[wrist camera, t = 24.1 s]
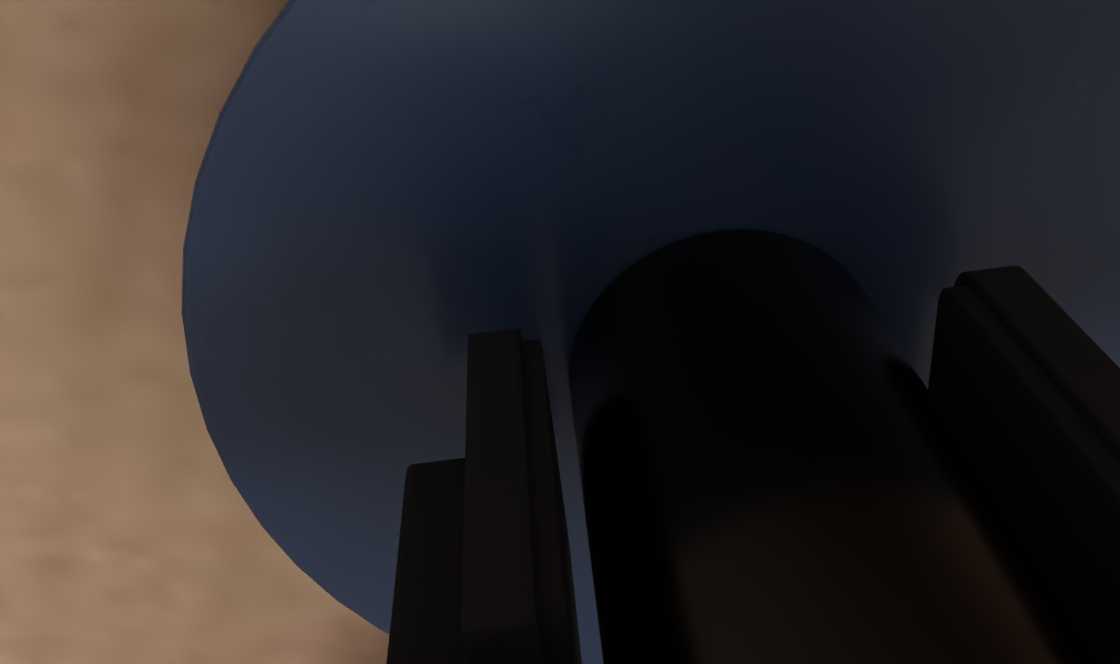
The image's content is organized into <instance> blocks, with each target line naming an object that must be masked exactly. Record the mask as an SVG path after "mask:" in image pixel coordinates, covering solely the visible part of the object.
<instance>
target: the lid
mask: <svg viewBox="0 0 1120 664" xmlns="http://www.w3.org/2000/svg"><path fill="white" fill-rule="evenodd" d="M1006 266H1020V267H1021V268H1022V269H1024V270H1025V271H1026V272H1027V273H1028V274H1029V275H1030V276H1031V277H1032V278H1033V279H1034V280H1035V281H1036V282H1037V283H1038V284H1039V285H1040V286H1041V287H1042V288H1043V289H1044V290H1045V291H1046V292H1047V294H1048V295H1049V296H1050V297H1051V298H1052V299H1053V300H1054V301H1055V302H1056V303H1057V304H1058V305H1059V306H1060V307H1061V308H1062V309H1063V310H1064V311H1065V312H1066V313H1067V314H1068V315H1069V316H1070V317H1071V318H1072V319H1073V320H1074V321H1075V322H1076V323H1077V324H1078V325H1079V327H1080V328H1081V329H1082V330H1083V331H1084V332H1085V333H1086V334H1087V335H1088V336H1089V337H1090V338H1091V339H1092V340H1093V341H1094V342H1095V343H1096V344H1097V345H1098V346H1099V347H1100V348H1101V349H1102V350H1103V351H1104V352H1105V353H1106V354H1107V355H1108V356H1109V357H1110V358H1111V360H1112V361H1113V362H1114V363H1115V364H1116V365H1117V366H1118V367H1119V368H1120V0H288V2H287V3H286V4H285V6H284V7H283V8H282V10H281V11H280V12H279V14H278V15H277V16H276V18H275V19H274V20H273V22H272V23H271V24H270V26H269V27H268V28H267V30H266V31H265V32H264V34H263V35H262V37H261V38H260V39H259V41H258V42H257V44H256V45H255V47H254V49H253V51H252V53H251V55H250V57H249V59H248V60H247V62H246V64H245V66H244V68H243V70H242V72H241V73H240V75H239V77H238V79H237V81H236V83H235V85H234V87H233V88H232V90H231V92H230V94H229V96H228V98H227V100H226V101H225V103H224V105H223V107H222V109H221V111H220V113H219V115H218V118H217V121H216V124H215V127H214V130H213V132H212V135H211V138H210V141H209V144H208V147H207V149H206V152H205V155H204V158H203V161H202V164H201V167H200V169H199V172H198V175H197V178H196V181H195V186H194V191H193V197H192V202H191V208H190V213H189V219H188V224H187V230H186V235H185V240H184V246H183V276H182V318H183V325H184V332H185V340H186V347H187V354H188V362H189V369H190V374H191V377H192V381H193V384H194V387H195V391H196V394H197V397H198V401H199V404H200V407H201V411H202V414H203V417H204V421H205V424H206V427H207V430H208V432H209V435H210V437H211V439H212V441H213V443H214V445H215V447H216V449H217V451H218V454H219V456H220V458H221V460H222V462H223V464H224V466H225V468H226V470H227V473H228V475H229V477H230V479H231V481H232V482H233V484H234V485H235V487H236V488H237V490H238V491H239V493H240V494H241V496H242V497H243V499H244V500H245V502H246V503H247V505H248V506H249V508H250V509H251V511H252V512H253V514H254V515H255V517H256V518H257V520H258V521H259V523H260V524H261V526H262V527H263V528H264V529H265V530H266V531H267V533H268V534H269V535H270V536H271V537H272V538H273V539H274V540H275V542H276V543H277V544H278V545H279V546H280V547H281V548H282V549H283V551H284V552H285V553H286V554H287V555H288V556H289V557H290V559H291V560H292V561H293V562H294V563H295V564H296V565H297V566H298V567H299V568H300V569H301V570H302V571H304V572H305V573H306V574H307V575H308V576H309V577H310V578H312V579H313V580H314V581H315V582H316V583H317V584H319V585H320V586H321V587H322V588H323V589H324V590H325V591H327V592H328V593H329V594H330V595H331V596H332V597H333V598H335V599H336V600H337V601H339V602H340V603H342V604H343V605H344V606H346V607H347V608H349V609H350V610H352V611H353V612H355V613H356V614H358V615H359V616H361V617H362V618H364V619H365V620H367V621H368V622H370V623H371V624H373V625H374V626H375V627H377V628H378V629H380V630H382V631H384V632H386V633H388V634H390V626H391V616H392V606H393V596H394V586H395V576H396V566H397V556H398V546H399V536H400V526H401V516H402V506H403V496H404V486H405V478H406V472H407V468H408V467H409V465H411V464H418V463H426V462H434V461H442V460H450V459H458V458H465V440H466V397H467V354H468V335H469V334H475V333H482V332H490V331H498V330H506V329H514V328H519V329H520V333H521V339H522V341H527V340H535V339H541V343H542V349H543V357H544V364H545V371H546V378H547V385H548V392H549V400H550V407H551V414H552V421H553V428H554V435H555V443H556V450H557V457H558V464H559V471H560V478H561V486H562V493H563V500H564V507H565V514H566V521H567V529H568V537H569V545H570V553H571V563H572V572H573V582H574V591H575V601H576V610H577V620H578V629H579V639H580V649H581V658H582V664H1106V663H1105V662H1104V660H1103V658H1102V657H1101V655H1100V654H1099V652H1098V651H1097V649H1096V648H1095V646H1094V645H1093V643H1092V642H1091V640H1090V638H1089V637H1088V635H1087V634H1086V632H1085V631H1084V629H1083V628H1082V626H1081V625H1080V623H1079V622H1078V620H1077V618H1076V617H1075V615H1074V614H1073V612H1072V611H1071V609H1070V608H1069V606H1068V605H1067V603H1066V601H1065V600H1064V598H1063V597H1062V595H1061V594H1060V592H1059V591H1058V589H1057V588H1056V586H1055V585H1054V583H1053V581H1052V580H1051V578H1050V577H1049V575H1048V574H1047V572H1046V571H1045V569H1044V568H1043V566H1042V565H1041V563H1040V561H1039V560H1038V558H1037V557H1036V555H1035V554H1034V552H1033V551H1032V549H1031V548H1030V546H1029V545H1028V543H1027V541H1026V540H1025V538H1024V537H1023V535H1022V534H1021V532H1020V531H1019V529H1018V528H1017V526H1016V525H1015V523H1014V521H1013V520H1012V518H1011V517H1010V515H1009V514H1008V512H1007V511H1006V509H1005V508H1004V506H1003V504H1002V503H1001V501H1000V500H999V498H998V497H997V495H996V494H995V492H994V491H993V489H992V488H991V486H990V484H989V483H988V481H987V480H986V478H985V477H984V475H983V474H982V472H981V471H980V469H979V468H978V466H977V464H976V463H975V461H974V460H973V458H972V457H971V455H970V454H969V452H968V451H967V449H966V448H965V446H964V444H963V443H962V441H961V440H960V438H959V437H958V435H957V434H956V432H955V431H954V429H953V427H952V426H951V424H950V423H949V421H948V420H947V418H946V417H945V415H944V414H943V412H942V411H941V409H940V407H939V406H938V404H937V403H936V401H935V400H934V398H933V397H932V395H931V394H930V392H929V391H928V384H929V375H930V367H931V358H932V350H933V341H934V332H935V324H936V315H937V306H938V300H939V295H940V293H941V291H942V290H943V289H944V288H947V287H954V284H955V281H956V279H957V277H958V275H959V274H961V273H962V272H966V271H974V270H982V269H990V268H998V267H1006Z"/></svg>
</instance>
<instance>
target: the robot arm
mask: <svg viewBox="0 0 1120 664" xmlns="http://www.w3.org/2000/svg"><path fill="white" fill-rule="evenodd" d="M928 391H929V392H930V394H931V395H932V397H933V398H934V400H935V401H936V403H937V404H938V406H939V407H940V409H941V411H942V412H943V414H944V415H945V417H946V418H947V420H948V421H949V423H950V424H951V426H952V427H953V429H954V431H955V432H956V434H957V435H958V437H959V438H960V440H961V441H962V443H963V444H964V446H965V448H966V449H967V451H968V452H969V454H970V455H971V457H972V458H973V460H974V461H975V463H976V464H977V466H978V468H979V469H980V471H981V472H982V474H983V475H984V477H985V478H986V480H987V481H988V483H989V484H990V486H991V488H992V489H993V491H994V492H995V494H996V495H997V497H998V498H999V500H1000V501H1001V503H1002V504H1003V506H1004V508H1005V509H1006V511H1007V512H1008V514H1009V515H1010V517H1011V518H1012V520H1013V521H1014V523H1015V525H1016V526H1017V528H1018V529H1019V531H1020V532H1021V534H1022V535H1023V537H1024V538H1025V540H1026V541H1027V543H1028V545H1029V546H1030V548H1031V549H1032V551H1033V552H1034V554H1035V555H1036V557H1037V558H1038V560H1039V561H1040V563H1041V565H1042V566H1043V568H1044V569H1045V571H1046V572H1047V574H1048V575H1049V577H1050V578H1051V580H1052V581H1053V583H1054V585H1055V586H1056V588H1057V589H1058V591H1059V592H1060V594H1061V595H1062V597H1063V598H1064V600H1065V601H1066V603H1067V605H1068V606H1069V608H1070V609H1071V611H1072V612H1073V614H1074V615H1075V617H1076V618H1077V620H1078V622H1079V623H1080V625H1081V626H1082V628H1083V629H1084V631H1085V632H1086V634H1087V635H1088V637H1089V638H1090V640H1091V642H1092V643H1093V645H1094V646H1095V648H1096V649H1097V651H1098V652H1099V654H1100V655H1101V657H1102V658H1103V660H1104V662H1105V663H1106V664H1120V368H1119V367H1118V366H1117V365H1116V364H1115V363H1114V362H1113V361H1112V360H1111V358H1110V357H1109V356H1108V355H1107V354H1106V353H1105V352H1104V351H1103V350H1102V349H1101V348H1100V347H1099V346H1098V345H1097V344H1096V343H1095V342H1094V341H1093V340H1092V339H1091V338H1090V337H1089V336H1088V335H1087V334H1086V333H1085V332H1084V331H1083V330H1082V329H1081V328H1080V327H1079V325H1078V324H1077V323H1076V322H1075V321H1074V320H1073V319H1072V318H1071V317H1070V316H1069V315H1068V314H1067V313H1066V312H1065V311H1064V310H1063V309H1062V308H1061V307H1060V306H1059V305H1058V304H1057V303H1056V302H1055V301H1054V300H1053V299H1052V298H1051V297H1050V296H1049V295H1048V294H1047V292H1046V291H1045V290H1044V289H1043V288H1042V287H1041V286H1040V285H1039V284H1038V283H1037V282H1036V281H1035V280H1034V279H1033V278H1032V277H1031V276H1030V275H1029V274H1028V273H1027V272H1026V271H1025V270H1024V269H1022V268H1021V267H1020V266H1006V267H998V268H990V269H982V270H974V271H966V272H962V273H961V274H959V275H958V277H957V279H956V281H955V284H954V287H947V288H944V289H943V290H942V291H941V293H940V295H939V300H938V306H937V315H936V324H935V332H934V341H933V350H932V358H931V367H930V375H929V384H928ZM387 664H582V658H581V649H580V639H579V629H578V620H577V610H576V601H575V591H574V582H573V572H572V563H571V553H570V545H569V537H568V529H567V521H566V514H565V507H564V500H563V493H562V486H561V478H560V471H559V464H558V457H557V450H556V443H555V435H554V428H553V421H552V414H551V407H550V400H549V392H548V385H547V378H546V371H545V364H544V357H543V349H542V343H541V339H535V340H527V341H522V339H521V333H520V329H519V328H514V329H506V330H498V331H490V332H482V333H475V334H469V335H468V354H467V397H466V440H465V458H458V459H450V460H442V461H434V462H426V463H418V464H411V465H409V467H408V468H407V472H406V478H405V486H404V496H403V506H402V516H401V526H400V536H399V546H398V556H397V566H396V576H395V586H394V596H393V606H392V616H391V626H390V636H389V646H388V656H387Z"/></svg>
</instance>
